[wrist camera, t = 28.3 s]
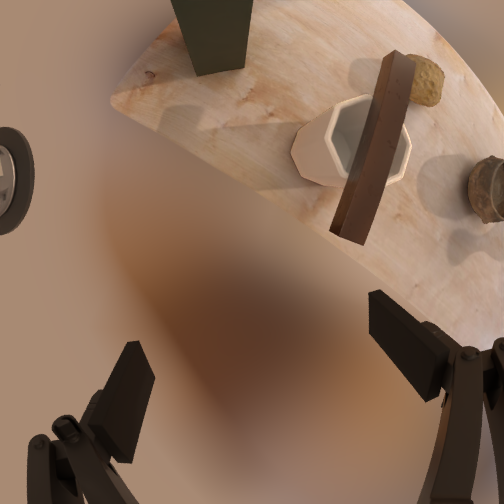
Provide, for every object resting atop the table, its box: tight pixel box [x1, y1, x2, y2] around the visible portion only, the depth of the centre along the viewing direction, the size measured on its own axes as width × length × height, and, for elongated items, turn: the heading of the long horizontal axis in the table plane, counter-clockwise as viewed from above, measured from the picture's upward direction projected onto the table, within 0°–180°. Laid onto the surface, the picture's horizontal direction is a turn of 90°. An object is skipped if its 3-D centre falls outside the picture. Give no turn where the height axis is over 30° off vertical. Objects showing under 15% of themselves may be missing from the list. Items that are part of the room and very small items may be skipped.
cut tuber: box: [406, 54, 445, 107], centre depth 38 cm, size 10×10×10 cm
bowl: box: [468, 156, 504, 224], centre depth 44 cm, size 14×15×10 cm
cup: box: [290, 94, 412, 188], centre depth 37 cm, size 11×11×18 cm
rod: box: [329, 50, 417, 246], centre depth 26 cm, size 3×22×3 cm, turn 161°
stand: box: [171, 0, 253, 77], centre depth 27 cm, size 8×10×27 cm
